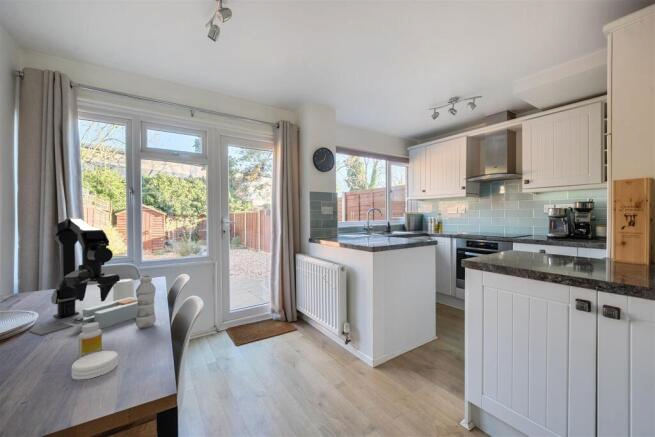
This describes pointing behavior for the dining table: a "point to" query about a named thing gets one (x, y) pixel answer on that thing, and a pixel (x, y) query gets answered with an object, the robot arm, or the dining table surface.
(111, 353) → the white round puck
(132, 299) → the tile
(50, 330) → the pad
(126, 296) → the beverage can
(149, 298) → the plastic bottle
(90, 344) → the supplement bottle
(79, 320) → the lever
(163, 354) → the dining table surface
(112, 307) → the grey-green channel block
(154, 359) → the dining table surface
